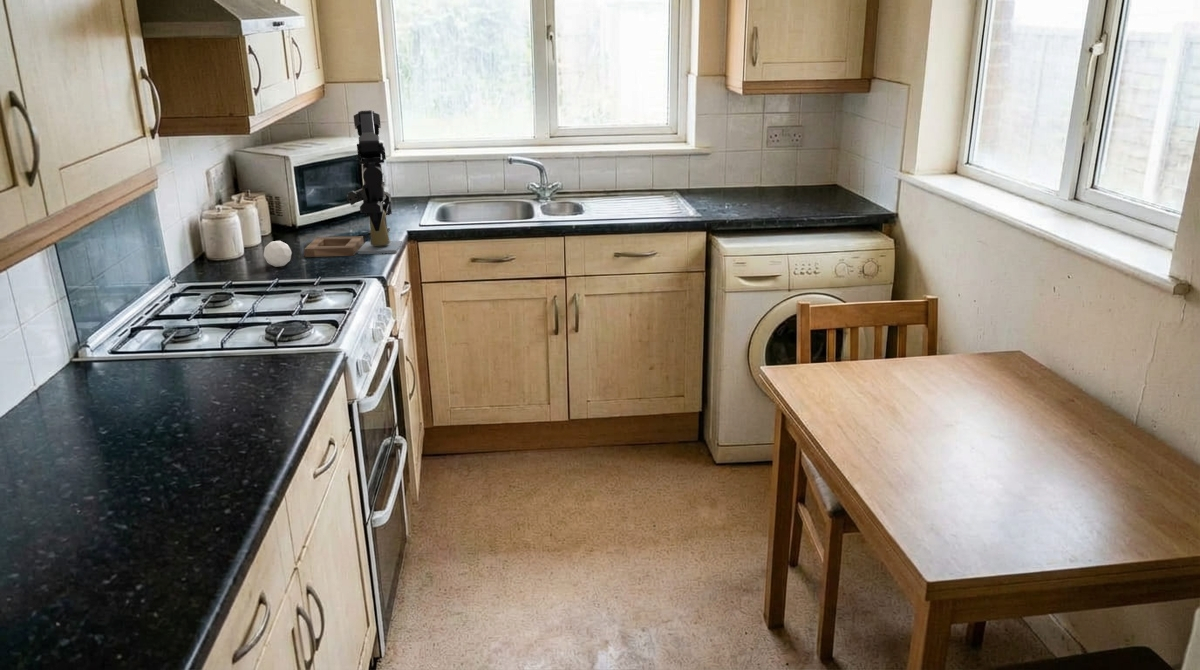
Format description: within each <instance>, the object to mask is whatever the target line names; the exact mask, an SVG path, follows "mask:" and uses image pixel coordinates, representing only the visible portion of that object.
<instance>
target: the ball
mask: <svg viewBox="0 0 1200 670" xmlns="http://www.w3.org/2000/svg"><path fill="white" fill-rule="evenodd" d="M263 258H264V259H265V261H266V262H267V264H269V265H271V266H273V267H275V268H277V267H278V268H279V267H284V266H286V265H287V264H288V263H289V262H290V261H291V259H292V250H291V247H290V246H289V244H287V243H285V242H283V241H281V240H275V241H270V242H269V243H268V244H266V246H264V251H263Z"/></svg>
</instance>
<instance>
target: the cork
mask: <svg viewBox="0 0 1200 670" xmlns="http://www.w3.org/2000/svg"><path fill="white" fill-rule="evenodd" d="M382 210H383V209H382ZM385 216H386V217H387V215H386V213H385V211H384V213H383V217H382V221H381V225H380V229H379V231H375V229H374V226H373V223H372V221H371V234H370V242H371V245H386V244H389V243H390V241H391V240H390V236H389V232H387V228H388V227H387V228H386V224H385V220H384V219H385ZM369 218H370V216H368V219H369ZM370 219H371V218H370Z"/></svg>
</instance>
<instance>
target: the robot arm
mask: <svg viewBox="0 0 1200 670" xmlns="http://www.w3.org/2000/svg"><path fill="white" fill-rule="evenodd" d="M353 123H354V125H353V126H354V129H355V130H357V135H358V143H356V150H357V160H358V161H357V162H358V165H362V166H361V167H362V176H363V184H362V186H361V188H360V189H358V190H351V191H348V192H347V195H346V201H347V202H348V203H349V205H350V206H353V205H355V204H356V203H359V202H362V204H361V205H360V206H359V209H360V210H359V212H360V214H364V217H365V218H366V217H368V220H369V229H370V230H369V231H368V232H367V234H368V235H371V221H372V223H373V226H374V229H375V231H379V229H380V225H381V221H382V217H383V213H384V211H385V213H386V216H385V219H384V220H385V224H386V228H387V232H388V233H389V232H390V231H391V228H389V227H388V223H387V220H388V219H387V216H390V215H392V212H393V211H392V203H391V202H392V195H391V194H390V193H389V192H387V191H385V185H386V184H385V181H384V178H383V177H384V176H383V169H382V168H383V167H382V164H383V163H384V164H385V160H386V159H387V158H386V149H385V147H386V146H385V145H384V143H383V142H381V141H380V136H379V134H380V129H382V127H381V126H382V125H381V117H380V114H379V113H376V112H375V111H374V110H360V111H358V113H356V114H353ZM382 209H383V210H382ZM369 216H370V218H371V219H370V218H369Z"/></svg>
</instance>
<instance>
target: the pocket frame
mask: <svg viewBox="0 0 1200 670" xmlns="http://www.w3.org/2000/svg"><path fill="white" fill-rule="evenodd" d="M364 243H365V241H364V236H363V235H361V236H354V235H353V236H326V237H323V236H322V237H320V236H319V237H318V236H317V237H316V238H314V239H313V240H312V241H311V242H310V243H309V244H308V245H306V246H305V248H304V249H303V251H304V258H312V257H313V258H314V257H317V258H318V257H352V256H353V255H354V256H355V255H356V254H357V253H358V250H359V249H360V248H361V247H362V245H363V244H364Z"/></svg>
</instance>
